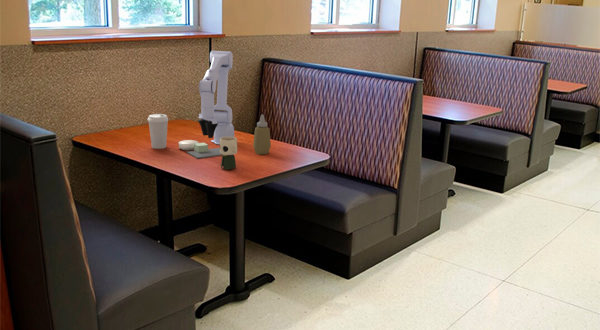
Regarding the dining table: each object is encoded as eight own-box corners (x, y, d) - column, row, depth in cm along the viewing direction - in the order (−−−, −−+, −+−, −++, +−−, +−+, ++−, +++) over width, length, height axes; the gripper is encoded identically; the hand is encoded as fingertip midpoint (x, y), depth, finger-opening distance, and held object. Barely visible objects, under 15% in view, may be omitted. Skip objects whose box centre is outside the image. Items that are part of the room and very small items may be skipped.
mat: (218, 149, 280) (218, 147, 280) (229, 154, 272) (229, 153, 271) (186, 153, 272) (186, 151, 271) (197, 158, 263) (197, 157, 263)
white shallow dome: (193, 145, 285) (193, 139, 284) (201, 149, 278) (201, 143, 277) (175, 147, 280) (175, 141, 280) (183, 151, 273) (183, 145, 272)
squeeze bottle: (273, 152, 278) (273, 114, 273) (266, 156, 270) (267, 117, 265) (257, 150, 280) (257, 112, 275) (250, 154, 273) (250, 115, 268)
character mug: (213, 167, 251) (213, 137, 247) (227, 164, 256) (227, 134, 252) (229, 173, 244) (229, 142, 240) (243, 170, 248) (243, 139, 245)
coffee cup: (164, 150, 275) (163, 118, 271) (145, 148, 277) (143, 116, 273) (172, 145, 284) (171, 114, 280) (153, 143, 286) (152, 113, 282)
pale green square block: (204, 148, 277) (204, 142, 276) (208, 151, 273) (208, 145, 272) (193, 150, 275) (193, 143, 274) (198, 152, 271) (197, 146, 270)
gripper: (192, 104, 269) (193, 134, 273) (206, 110, 258) (206, 140, 261) (206, 103, 273) (207, 132, 277) (221, 109, 261) (221, 139, 265)
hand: (208, 136), depth 269 cm, fingers open, 5 cm apart
